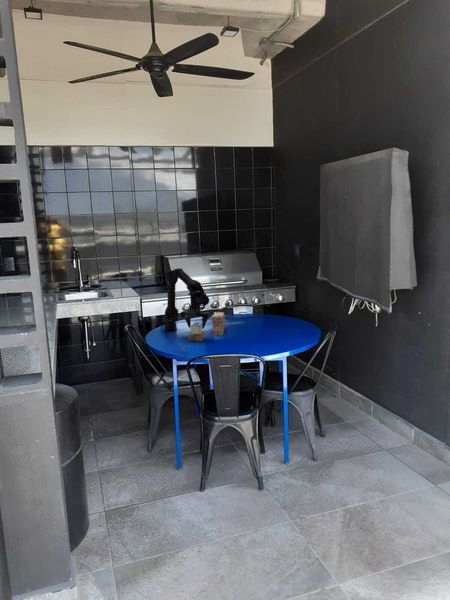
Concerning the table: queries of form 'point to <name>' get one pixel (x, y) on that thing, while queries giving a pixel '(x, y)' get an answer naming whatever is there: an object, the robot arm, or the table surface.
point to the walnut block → (197, 336)
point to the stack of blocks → (218, 323)
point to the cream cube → (196, 328)
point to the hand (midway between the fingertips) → (196, 328)
